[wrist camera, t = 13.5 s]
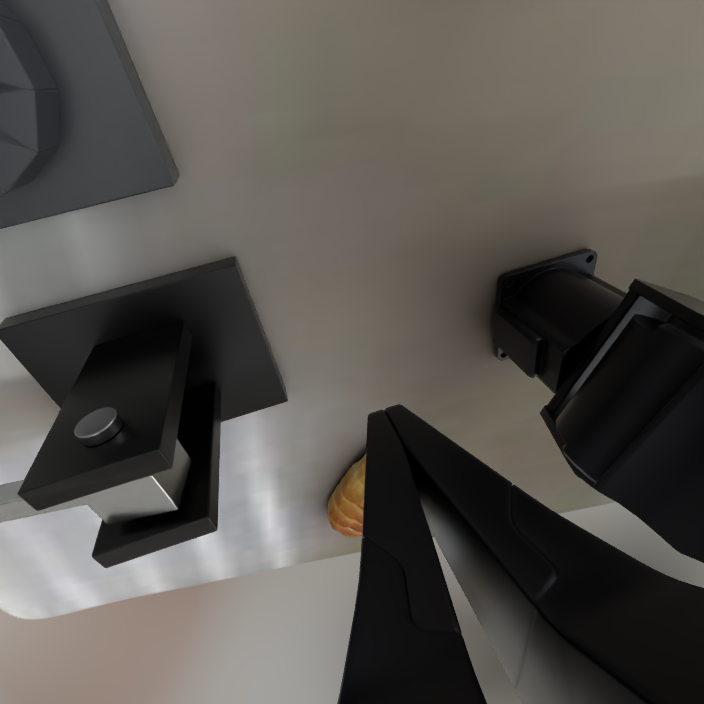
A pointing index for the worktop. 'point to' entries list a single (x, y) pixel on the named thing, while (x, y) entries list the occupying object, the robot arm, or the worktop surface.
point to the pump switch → (72, 113)
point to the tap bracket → (144, 394)
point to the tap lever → (114, 496)
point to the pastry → (349, 502)
